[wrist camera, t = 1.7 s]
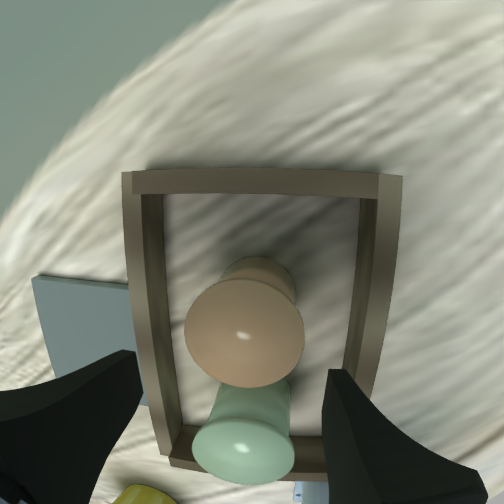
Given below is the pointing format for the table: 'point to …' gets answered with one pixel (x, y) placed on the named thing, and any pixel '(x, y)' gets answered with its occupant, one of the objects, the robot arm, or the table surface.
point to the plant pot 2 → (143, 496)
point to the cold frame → (155, 291)
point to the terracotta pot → (247, 325)
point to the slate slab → (84, 322)
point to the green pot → (247, 435)
